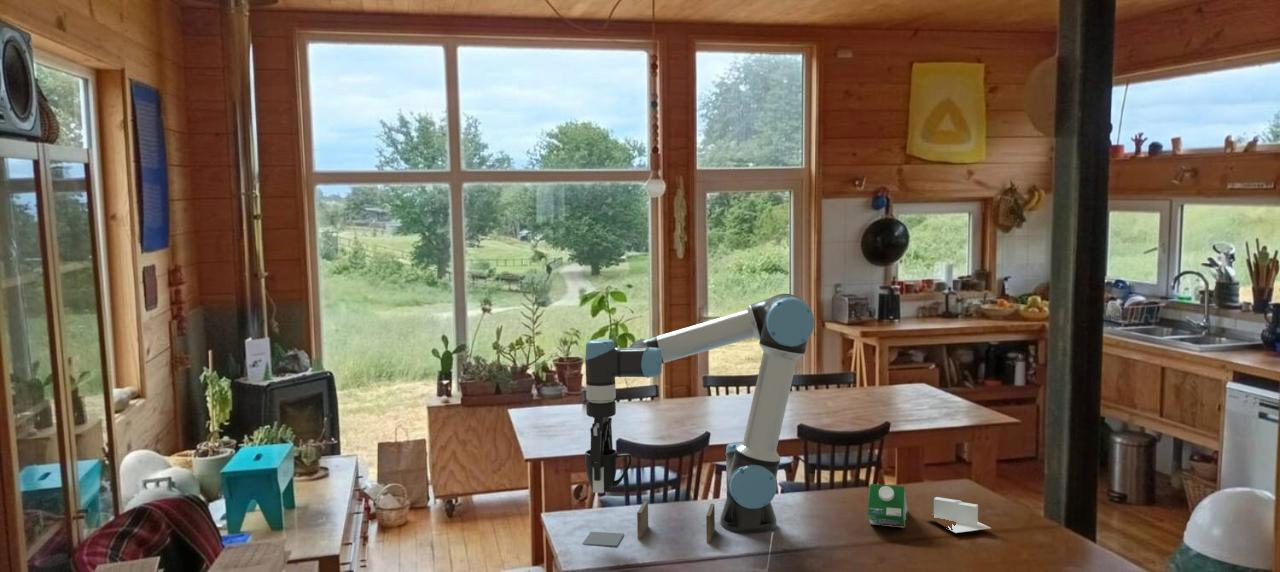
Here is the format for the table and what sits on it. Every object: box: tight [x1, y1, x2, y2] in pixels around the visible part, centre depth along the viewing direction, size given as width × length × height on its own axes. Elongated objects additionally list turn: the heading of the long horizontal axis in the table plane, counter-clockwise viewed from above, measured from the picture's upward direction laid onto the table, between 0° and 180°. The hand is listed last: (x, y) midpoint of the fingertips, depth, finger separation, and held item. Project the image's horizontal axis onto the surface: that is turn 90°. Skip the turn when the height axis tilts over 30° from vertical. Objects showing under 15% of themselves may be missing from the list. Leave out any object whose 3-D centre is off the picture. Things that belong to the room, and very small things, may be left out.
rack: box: [636, 500, 716, 544], centre depth 240 cm, size 19×10×7 cm, turn 79°
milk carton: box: [867, 483, 908, 527], centre depth 251 cm, size 9×9×25 cm
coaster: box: [582, 531, 625, 548], centre depth 236 cm, size 9×9×1 cm
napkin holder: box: [933, 496, 991, 534], centre depth 248 cm, size 15×11×6 cm
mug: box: [584, 448, 633, 492], centre depth 234 cm, size 8×12×10 cm
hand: (602, 487), depth 235 cm, fingers closed on mug, 8 cm apart
